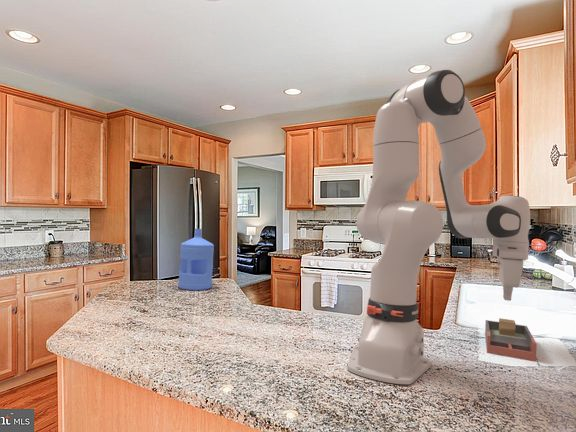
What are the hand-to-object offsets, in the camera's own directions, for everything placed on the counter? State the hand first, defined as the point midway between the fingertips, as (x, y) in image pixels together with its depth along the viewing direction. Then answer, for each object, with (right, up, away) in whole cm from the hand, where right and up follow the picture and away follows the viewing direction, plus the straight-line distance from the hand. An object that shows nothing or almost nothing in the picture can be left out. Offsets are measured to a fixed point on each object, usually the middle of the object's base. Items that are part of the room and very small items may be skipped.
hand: (507, 299), depth 104 cm
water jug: (-108, -10, +68) cm, 128 cm away
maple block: (+3, -12, +5) cm, 13 cm away
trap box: (0, -13, 0) cm, 13 cm away
